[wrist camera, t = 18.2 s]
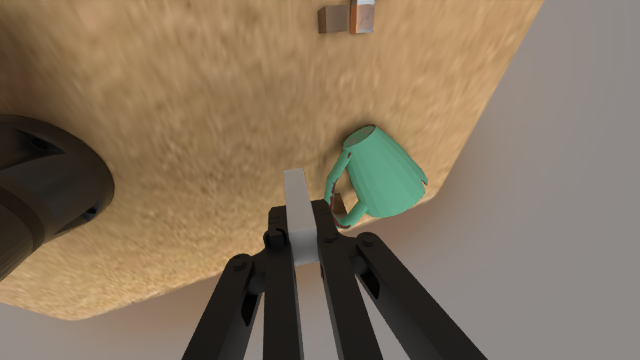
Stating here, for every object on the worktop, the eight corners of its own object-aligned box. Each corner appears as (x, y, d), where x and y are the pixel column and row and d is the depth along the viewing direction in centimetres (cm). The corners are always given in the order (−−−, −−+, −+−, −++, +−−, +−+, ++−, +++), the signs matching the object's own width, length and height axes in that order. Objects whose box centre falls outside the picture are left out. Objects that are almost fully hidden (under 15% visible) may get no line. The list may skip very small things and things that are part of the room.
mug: (412, 111, 25) (445, 179, 29) (369, 113, 35) (398, 165, 38) (307, 194, 24) (355, 254, 28) (291, 174, 33) (329, 221, 37)
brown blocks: (328, 204, 39) (334, 224, 35) (314, -53, 22) (322, -74, 18) (366, 199, 40) (376, 218, 36) (380, -56, 23) (402, -76, 19)
